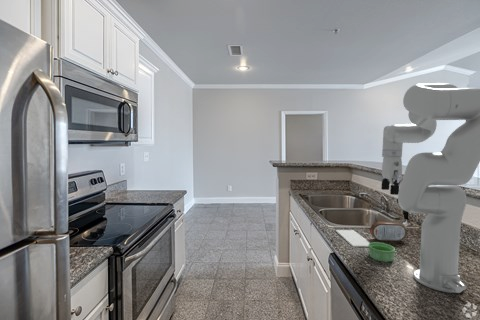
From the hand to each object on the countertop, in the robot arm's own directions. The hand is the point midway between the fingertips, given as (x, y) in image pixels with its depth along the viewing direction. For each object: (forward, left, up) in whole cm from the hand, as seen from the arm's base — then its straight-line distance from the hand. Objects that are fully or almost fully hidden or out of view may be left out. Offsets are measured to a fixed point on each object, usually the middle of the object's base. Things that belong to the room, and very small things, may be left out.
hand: (389, 191), depth 114 cm
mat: (+3, +14, -23) cm, 27 cm away
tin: (+1, -1, -23) cm, 23 cm away
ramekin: (-17, +12, -23) cm, 31 cm away
